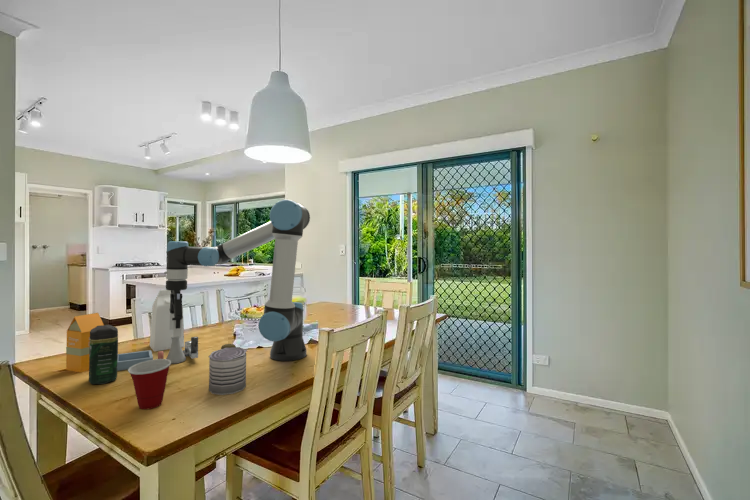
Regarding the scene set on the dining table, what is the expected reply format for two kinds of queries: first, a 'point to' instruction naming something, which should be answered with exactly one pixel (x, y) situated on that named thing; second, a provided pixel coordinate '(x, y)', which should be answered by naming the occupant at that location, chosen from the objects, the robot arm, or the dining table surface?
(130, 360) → the tray
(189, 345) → the crank
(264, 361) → the dining table surface
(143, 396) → the plastic cup
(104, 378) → the coffee jar
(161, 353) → the stop post
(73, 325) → the orange juice
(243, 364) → the can
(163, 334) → the milk
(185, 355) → the crank base
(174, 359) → the flask
